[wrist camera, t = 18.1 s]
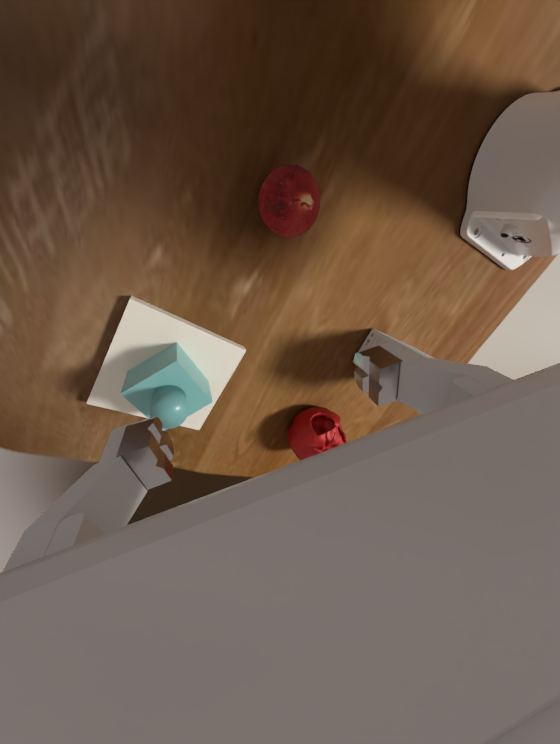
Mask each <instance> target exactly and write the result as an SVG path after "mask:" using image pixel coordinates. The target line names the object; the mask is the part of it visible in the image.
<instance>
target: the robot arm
mask: <svg viewBox="0 0 560 744" xmlns="http://www.w3.org/2000/svg"><path fill="white" fill-rule="evenodd" d="M460 235H461V237H462V238H464V239H465V240H466V241H468V242H469V243H470V244H472V245H473V246H474V247H476V248H477V249H478V250H480V251H481V252H482V253H484V254H485V255H486V256H488V257H489V258H490V259H492V260H493V261H494V262H496V263H497V264H498V265H500V266H501V267H502V268H504V269H506V270H514V269H516V268H517V267H519V266H520V265H522V264H523V263H525V262H526V261H527V260H528V259H529V258H530V257H532V256H540V257H548V256H553V255H556V254H559V253H560V90H559V91H555V92H537V93H530V94H527V95H525V96H523V97H521V98H519V99H518V100H516V101H515V102H513V103H512V104H511V105H510V106H509V107H508V108H507V109H506V110H505V111H504V112H503V113H502V114H501V115H500V116H499V118H498V119H497V120H496V122H495V123H494V124H493V126H492V127H491V129H490V130H489V132H488V134H487V135H486V137H485V139H484V141H483V143H482V145H481V147H480V149H479V151H478V154H477V156H476V159H475V162H474V165H473V168H472V171H471V175H470V180H469V186H468V197H467V208H466V212H465V215H464V218H463V221H462V225H461V229H460ZM354 363H355V364H356V365H357V367H356V369H355V371H354V374H355V380H356V383H357V385H358V386H359V388H360V389H361V390H362V391H364V392H368V393H369V398H370V399H371V400H372V401H373V402H374V403H375V404H376V405H378V406H381V405H384V404H387V403H390V402H393V401H396V400H397V401H398V402H401V403H403V404H406V405H408V406H411V407H414V408H416V409H419V410H421V411H424V412H426V413H425V414H423V415H420V416H417V417H415V418H412V419H409V420H407V421H404V422H401V423H399V424H396V425H393V426H391V427H388V428H385V429H383V430H380V431H377V432H375V433H372V434H369V435H367V436H364V437H361V438H359V439H356V440H353V441H351V442H348V443H345V444H342V445H340V446H337V447H334V448H332V449H329V450H326V451H324V452H321V453H319V454H316V455H313V456H311V457H308V458H305V459H303V460H300V461H297V462H295V463H292V464H289V465H287V466H284V467H281V468H279V469H276V470H273V471H271V472H268V473H265V474H263V475H260V476H258V477H255V478H252V479H250V480H247V481H244V482H242V483H239V484H236V485H234V486H231V487H228V488H226V489H223V490H220V491H218V492H215V493H212V494H210V495H207V496H204V497H202V498H199V499H196V500H194V501H191V502H188V503H186V504H183V505H180V506H178V507H175V508H172V509H170V510H167V511H164V512H162V513H159V514H156V515H154V516H151V517H148V518H146V519H143V520H140V521H138V522H135V523H132V524H130V525H127V523H128V522H129V520H130V519H131V517H132V515H133V514H134V512H135V510H136V509H137V507H138V505H139V504H140V502H141V500H142V499H143V498H144V496H145V494H146V492H147V490H148V489H151V488H153V487H156V486H158V485H161V484H164V483H166V482H169V481H171V479H172V467H173V465H172V464H171V462H170V460H171V459H172V457H173V454H174V449H173V443H172V440H171V438H170V436H169V434H168V433H167V432H165V431H163V430H162V426H163V424H162V422H161V421H160V419H159V418H158V417H156V416H155V417H152V418H149V419H145V420H142V421H139V422H135V423H132V424H129V425H125V426H122V427H119V428H116V429H114V430H112V431H111V433H110V436H109V438H108V441H107V443H106V446H105V449H104V451H103V454H102V456H101V459H100V461H99V463H98V464H95V465H93V466H92V467H91V468H90V469H89V470H88V471H87V472H86V473H85V474H84V475H83V476H82V477H81V478H80V479H79V480H78V481H77V482H76V483H74V484H73V485H72V487H70V488H69V489H68V490H67V491H66V492H65V493H64V494H63V495H62V496H61V497H60V498H59V499H58V500H57V501H56V502H55V503H54V504H52V505H51V506H50V507H49V508H48V510H46V511H45V512H44V513H43V514H42V515H41V516H40V517H39V518H38V519H37V520H36V521H35V522H34V523H33V524H32V525H31V526H29V527H28V528H27V529H26V530H25V531H24V533H23V535H22V537H21V538H20V541H19V542H18V544H17V546H16V548H15V550H14V551H13V553H12V555H11V557H10V559H9V561H8V562H7V564H6V566H5V568H4V570H3V572H2V573H0V744H560V363H558V364H556V365H553V366H550V367H548V368H545V369H542V370H540V371H537V372H535V373H532V374H529V375H526V376H524V377H521V378H518V379H516V380H512V379H510V378H508V377H506V376H504V375H502V374H500V373H498V372H496V371H494V370H492V369H490V368H488V367H485V366H479V365H472V364H466V363H459V362H453V361H446V360H440V359H433V358H427V357H420V356H418V357H414V356H412V355H411V354H409V353H407V352H406V351H404V350H402V349H401V348H399V347H397V346H396V345H394V344H392V343H390V342H386V343H383V344H381V345H378V346H376V347H373V348H370V349H367V350H364V351H361V352H358V353H355V356H354ZM126 525H127V526H126Z"/></svg>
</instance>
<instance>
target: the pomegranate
mask: <svg viewBox="0 0 560 744" xmlns="http://www.w3.org/2000/svg"><path fill="white" fill-rule="evenodd" d="M340 420H341V419H340V417H339V416H338V415H337V414H335V413H334V412H331V411H330V410H328V409H326V408H321V407H312V408H308V409H306V410H304V411H302V412H300V413H299V414H297V415H296V416H295V418H294V421H293V424H292V426H291V427H290V428H289V429H288V432H287V440H288V443H289V445H290V447H291V449H292V450H293V452H294V453H295V455H296V456H297V457H298V458H299V459H300V460H303V459H305V458H308V457H311V456H313V455H316V454H319V453H321V452H324V451H326V450H329V449H332V448H334V447H337V446H340V445H342V444H345V443H346V435H345V433H344V432H343V430H342V428H341V426H340Z"/></svg>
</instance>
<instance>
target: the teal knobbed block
mask: <svg viewBox="0 0 560 744" xmlns="http://www.w3.org/2000/svg"><path fill="white" fill-rule="evenodd" d="M120 394H121V395H122V396H123V397H124V398H125V399H127V400H128V401H129V402H130V403H131V404H132V405H133V406H135V407H136V408H137V409H138V410H139V411H140V412H142V413H143V414H144V415H145V416H146V417H147V418H148V419H149V418H152V417H155V416H156V417H158V418H159V419H160V421H161V422H162V424H163V426H162V430H163V431H165V430H166V429H170V428H175V427H177V426H179V425H181V424H182V423H183V422H184V421H185V420H186V418H187V417H188V416H190V415H192V414H193V413H195V412H197V411H198V410H200V409H202V408H203V407H205V406H207V405H208V404H210V403H212V396H211V391H210V386H209V381H208V380H207V378H206V377H205V376H204V375H203V373H202V372H201V371H200V370H199V369H198V367H197V366H196V365H195V364H194V362H193V361H192V360H191V359H190V358H189V356H188V355H187V354H186V353H185V351H184V350H183V349H182V348H181V347H180V345H179V344H178V343H175V344H173V345H172V346H170V347H168V348H166V349H165V350H163V351H161V352H160V353H158V354H156V355H154V356H153V357H151V358H149V359H148V360H146V361H144V362H142V363H141V364H139V365H137V366H135V367H134V368H132V369H130V370H129V371H128V372H127V375H126V378H125V381H124V384H123V387H122V390H121V393H120Z"/></svg>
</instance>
